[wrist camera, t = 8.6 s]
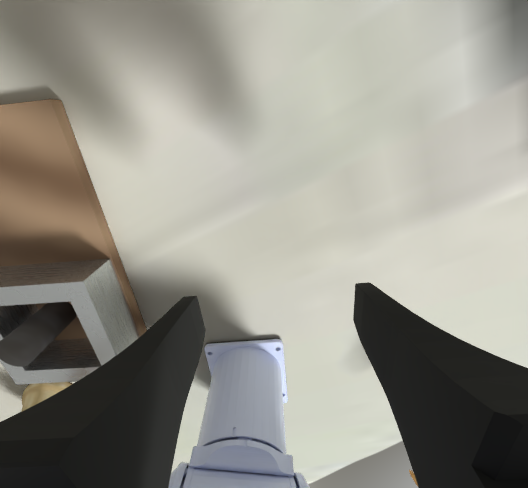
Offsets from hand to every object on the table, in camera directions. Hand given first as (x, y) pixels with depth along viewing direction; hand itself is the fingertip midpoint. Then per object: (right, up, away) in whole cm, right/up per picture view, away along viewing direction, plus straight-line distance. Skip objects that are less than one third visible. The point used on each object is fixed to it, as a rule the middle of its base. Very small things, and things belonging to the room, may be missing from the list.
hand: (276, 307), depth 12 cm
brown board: (-20, +2, +11) cm, 23 cm away
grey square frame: (-18, -3, +12) cm, 22 cm away
